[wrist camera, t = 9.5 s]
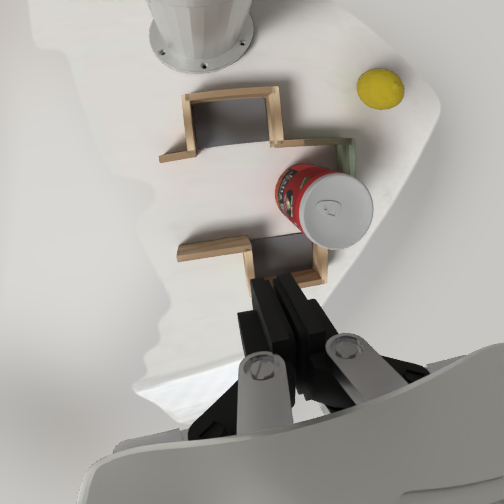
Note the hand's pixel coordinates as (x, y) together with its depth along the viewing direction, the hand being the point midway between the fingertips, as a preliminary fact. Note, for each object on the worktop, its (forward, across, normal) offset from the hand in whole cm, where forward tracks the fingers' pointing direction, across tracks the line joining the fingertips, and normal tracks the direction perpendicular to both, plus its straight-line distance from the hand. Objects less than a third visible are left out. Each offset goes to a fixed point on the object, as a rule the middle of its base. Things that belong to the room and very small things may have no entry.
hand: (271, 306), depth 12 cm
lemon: (+25, -20, -13) cm, 35 cm away
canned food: (+25, -10, +1) cm, 27 cm away
